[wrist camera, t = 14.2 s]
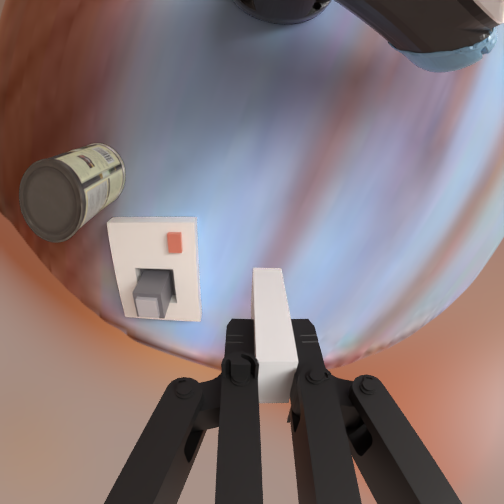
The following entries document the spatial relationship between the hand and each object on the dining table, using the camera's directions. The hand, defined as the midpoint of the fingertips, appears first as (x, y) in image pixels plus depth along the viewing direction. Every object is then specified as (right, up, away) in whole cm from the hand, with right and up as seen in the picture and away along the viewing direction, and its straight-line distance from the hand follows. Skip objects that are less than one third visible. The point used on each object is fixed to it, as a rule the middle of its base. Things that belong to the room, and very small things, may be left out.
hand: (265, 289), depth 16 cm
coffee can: (-25, +14, +25) cm, 38 cm away
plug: (-16, -3, +33) cm, 37 cm away
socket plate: (-16, -1, +32) cm, 36 cm away
